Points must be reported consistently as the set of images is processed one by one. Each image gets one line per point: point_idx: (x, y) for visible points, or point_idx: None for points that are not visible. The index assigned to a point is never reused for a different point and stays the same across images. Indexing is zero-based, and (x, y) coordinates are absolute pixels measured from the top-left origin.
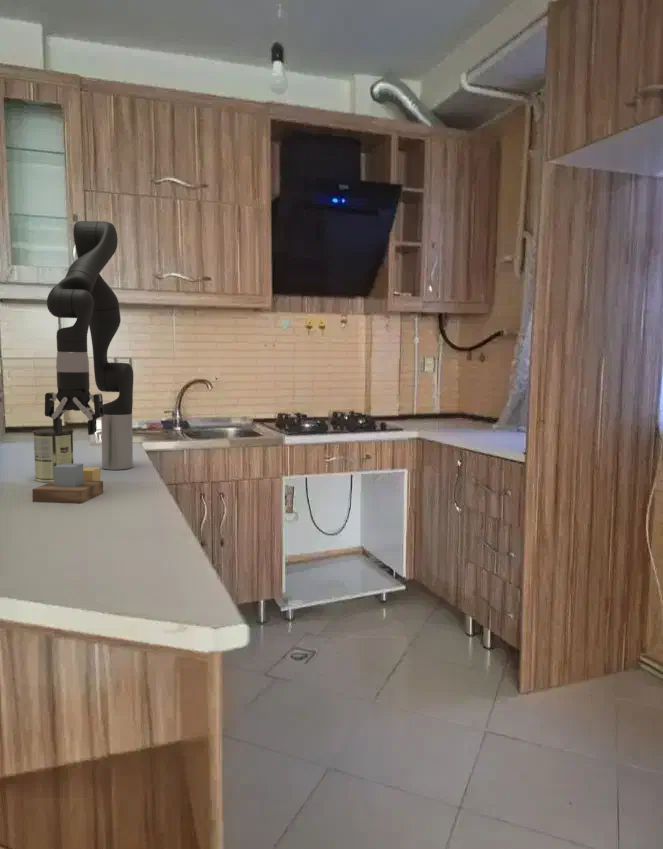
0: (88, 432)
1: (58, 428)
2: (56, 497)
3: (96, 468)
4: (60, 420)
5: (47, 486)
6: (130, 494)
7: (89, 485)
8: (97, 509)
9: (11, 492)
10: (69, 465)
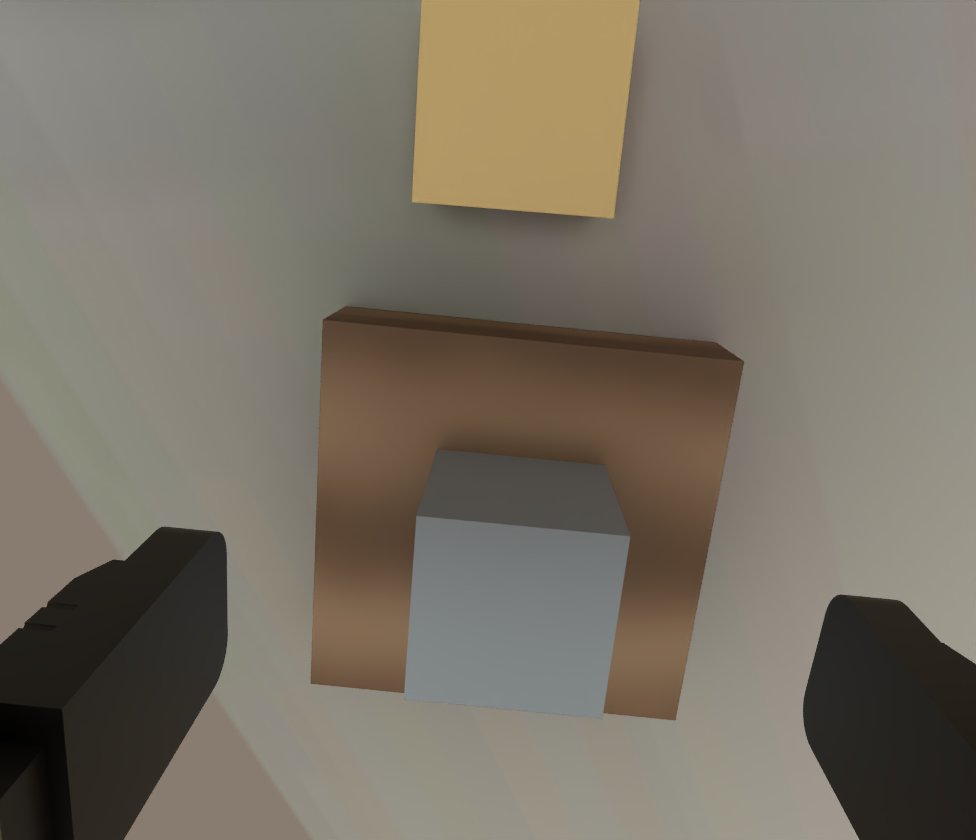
0: (824, 757)
1: (186, 713)
2: None
3: (610, 51)
4: (92, 747)
5: (370, 591)
6: (944, 392)
7: (679, 541)
8: (800, 794)
9: (29, 377)
10: (525, 631)
